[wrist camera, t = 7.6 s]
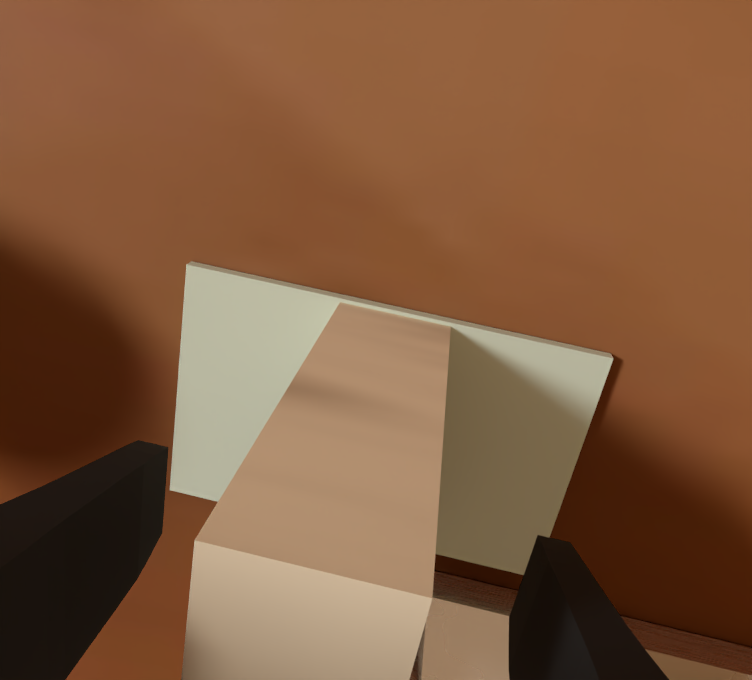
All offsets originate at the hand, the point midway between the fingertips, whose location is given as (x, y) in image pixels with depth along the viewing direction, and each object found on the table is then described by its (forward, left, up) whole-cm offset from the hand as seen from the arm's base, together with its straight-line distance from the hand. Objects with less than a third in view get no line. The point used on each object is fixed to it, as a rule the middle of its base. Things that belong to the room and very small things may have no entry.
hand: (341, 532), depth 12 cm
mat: (0, 0, -4) cm, 4 cm away
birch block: (0, 0, -4) cm, 4 cm away
